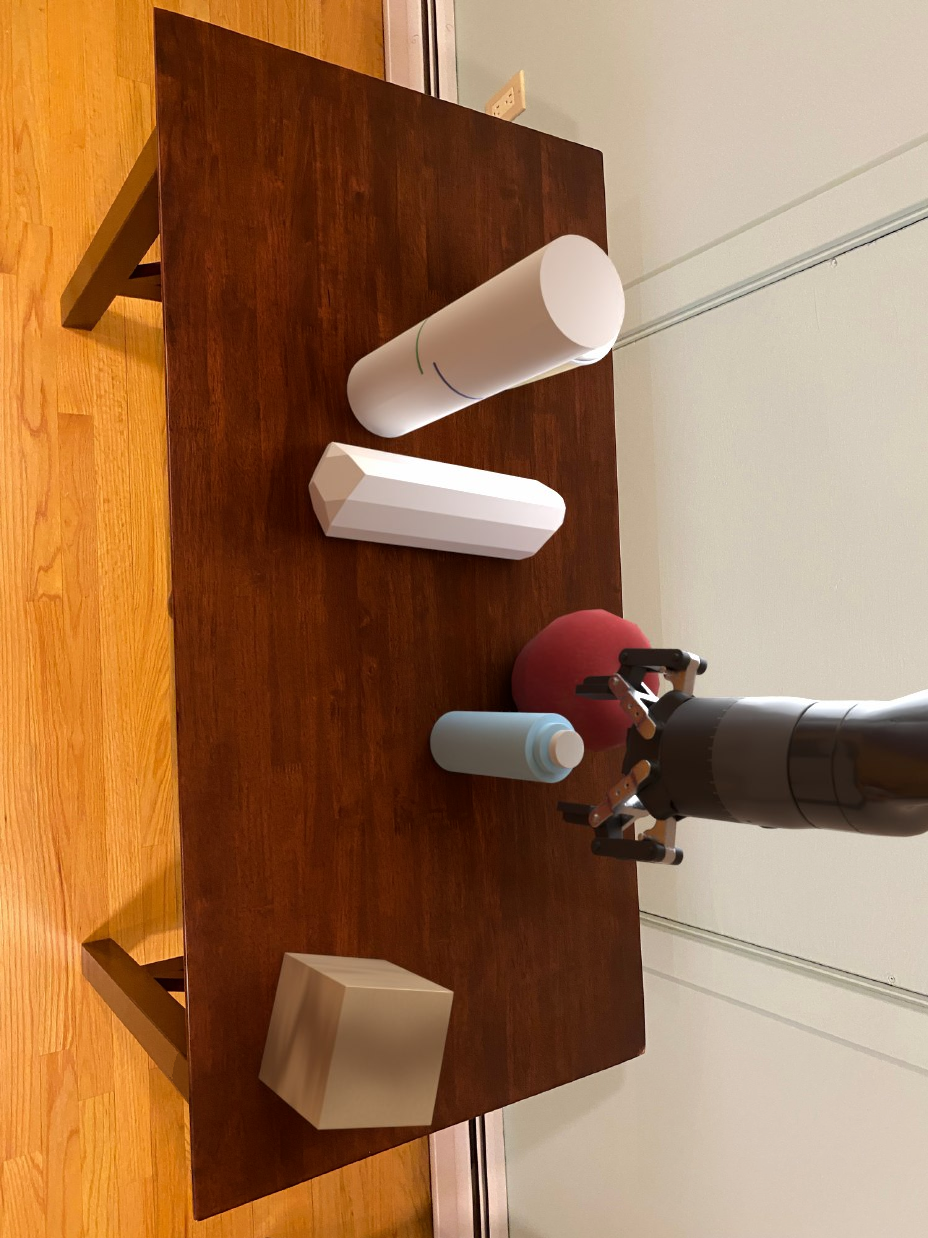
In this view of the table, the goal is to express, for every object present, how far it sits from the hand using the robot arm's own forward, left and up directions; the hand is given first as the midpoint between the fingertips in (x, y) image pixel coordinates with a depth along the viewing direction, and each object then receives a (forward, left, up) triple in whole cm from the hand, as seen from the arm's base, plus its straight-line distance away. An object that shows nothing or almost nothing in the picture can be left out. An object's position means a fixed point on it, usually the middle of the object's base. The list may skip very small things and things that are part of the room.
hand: (574, 749), depth 68 cm
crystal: (+19, +8, -16) cm, 26 cm away
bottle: (0, 0, -15) cm, 15 cm away
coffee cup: (+36, +4, -16) cm, 39 cm away
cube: (-23, +8, -15) cm, 29 cm away
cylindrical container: (+27, +14, -16) cm, 34 cm away
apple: (+7, -7, -16) cm, 19 cm away
